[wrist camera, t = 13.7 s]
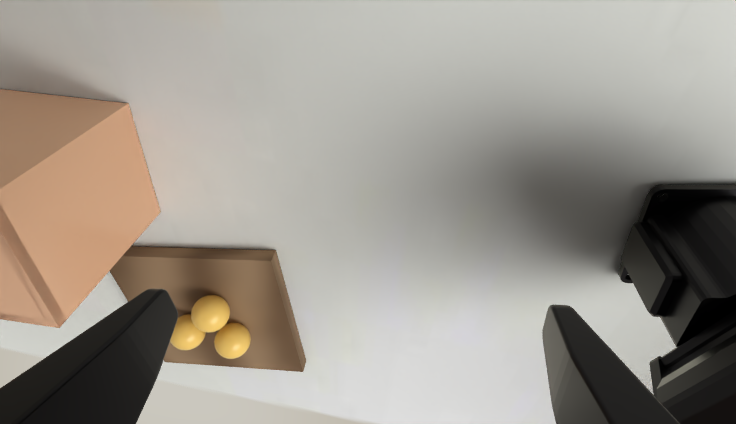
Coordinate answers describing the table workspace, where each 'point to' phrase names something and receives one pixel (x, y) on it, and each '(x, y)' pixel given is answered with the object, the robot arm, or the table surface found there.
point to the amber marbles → (211, 328)
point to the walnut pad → (235, 285)
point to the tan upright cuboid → (66, 200)
